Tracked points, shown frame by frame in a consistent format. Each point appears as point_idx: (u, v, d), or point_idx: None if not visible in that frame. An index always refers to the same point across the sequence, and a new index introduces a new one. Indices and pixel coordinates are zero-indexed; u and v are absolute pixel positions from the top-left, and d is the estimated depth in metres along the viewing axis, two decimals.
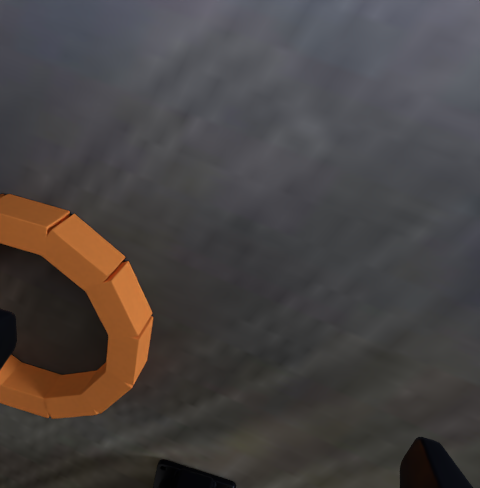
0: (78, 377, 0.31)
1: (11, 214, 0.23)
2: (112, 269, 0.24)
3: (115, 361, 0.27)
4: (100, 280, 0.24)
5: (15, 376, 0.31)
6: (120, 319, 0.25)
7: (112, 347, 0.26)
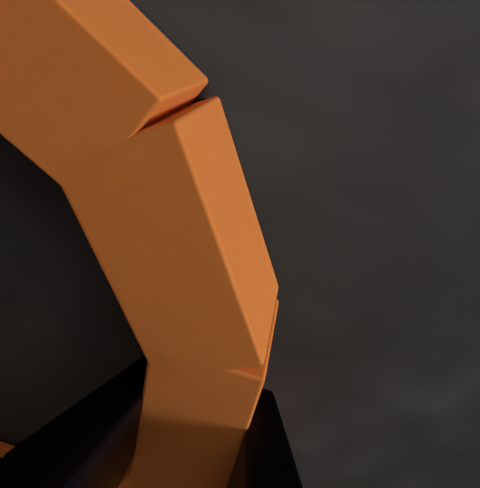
0: None
1: None
2: (174, 86, 0.06)
3: (167, 446, 0.08)
4: (126, 121, 0.05)
5: None
6: (200, 302, 0.06)
7: (159, 403, 0.07)
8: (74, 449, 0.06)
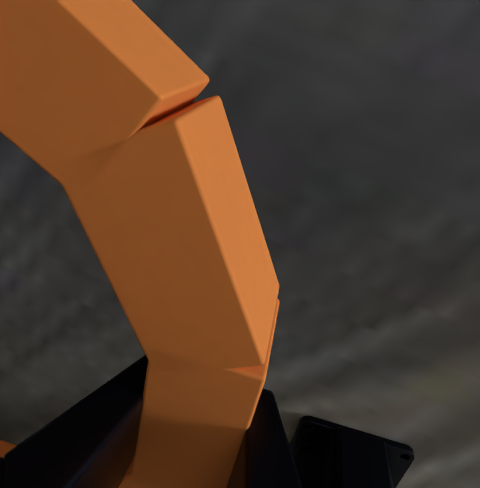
0: None
1: None
2: (176, 85, 0.06)
3: (167, 445, 0.08)
4: (128, 119, 0.05)
5: None
6: (201, 301, 0.06)
7: (160, 402, 0.07)
8: (74, 449, 0.06)
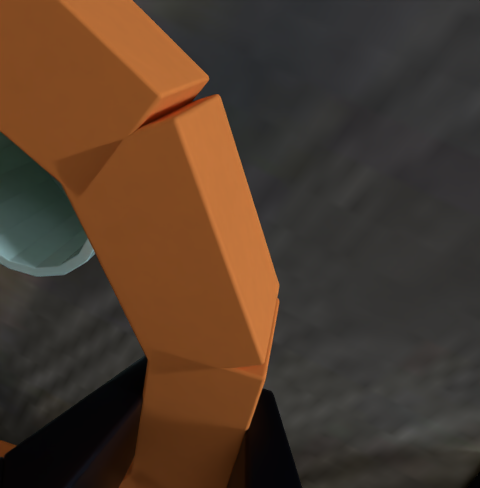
0: None
1: None
2: (175, 83, 0.06)
3: (167, 445, 0.08)
4: (126, 117, 0.05)
5: None
6: (200, 301, 0.06)
7: (160, 402, 0.07)
8: (74, 449, 0.06)
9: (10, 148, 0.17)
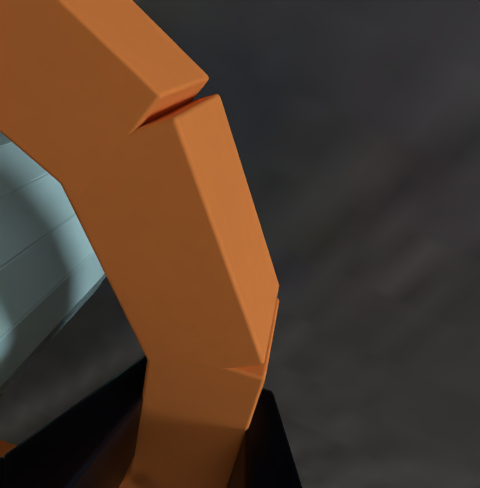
0: None
1: None
2: (174, 83, 0.06)
3: (166, 445, 0.08)
4: (126, 116, 0.05)
5: None
6: (200, 300, 0.06)
7: (159, 401, 0.07)
8: (75, 449, 0.06)
9: None
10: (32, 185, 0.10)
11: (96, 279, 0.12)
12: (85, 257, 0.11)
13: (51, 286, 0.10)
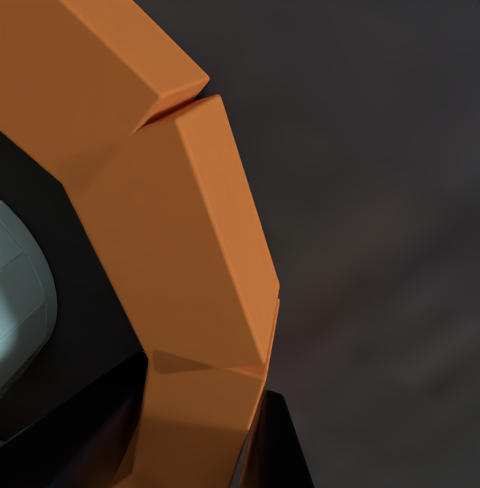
0: None
1: None
2: (176, 84, 0.06)
3: (168, 445, 0.08)
4: (127, 117, 0.05)
5: None
6: (202, 300, 0.06)
7: (161, 402, 0.07)
8: (63, 445, 0.06)
9: None
10: None
11: (13, 369, 0.09)
12: None
13: None
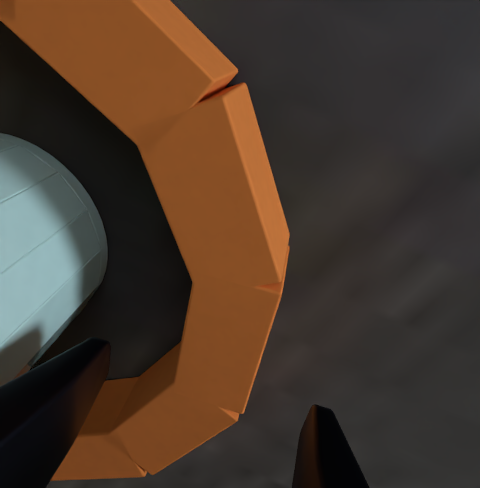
0: (100, 391, 0.14)
1: None
2: (220, 73, 0.08)
3: (204, 355, 0.10)
4: (188, 96, 0.08)
5: None
6: (235, 232, 0.09)
7: (200, 317, 0.10)
8: None
9: None
10: (5, 204, 0.09)
11: (78, 302, 0.11)
12: (65, 280, 0.10)
13: (25, 316, 0.09)
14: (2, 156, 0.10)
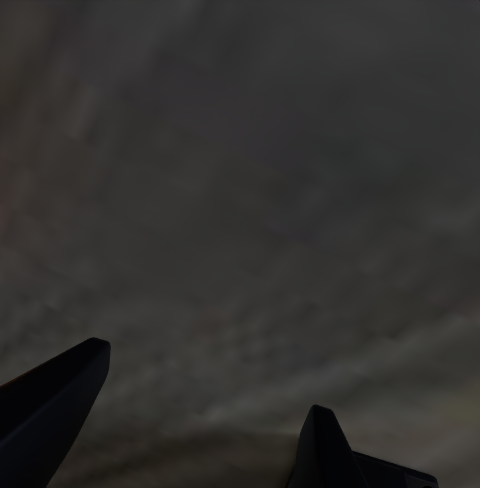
0: None
1: None
2: None
3: None
4: None
5: None
6: None
7: None
8: None
9: None
10: None
11: None
12: None
13: None
14: None
